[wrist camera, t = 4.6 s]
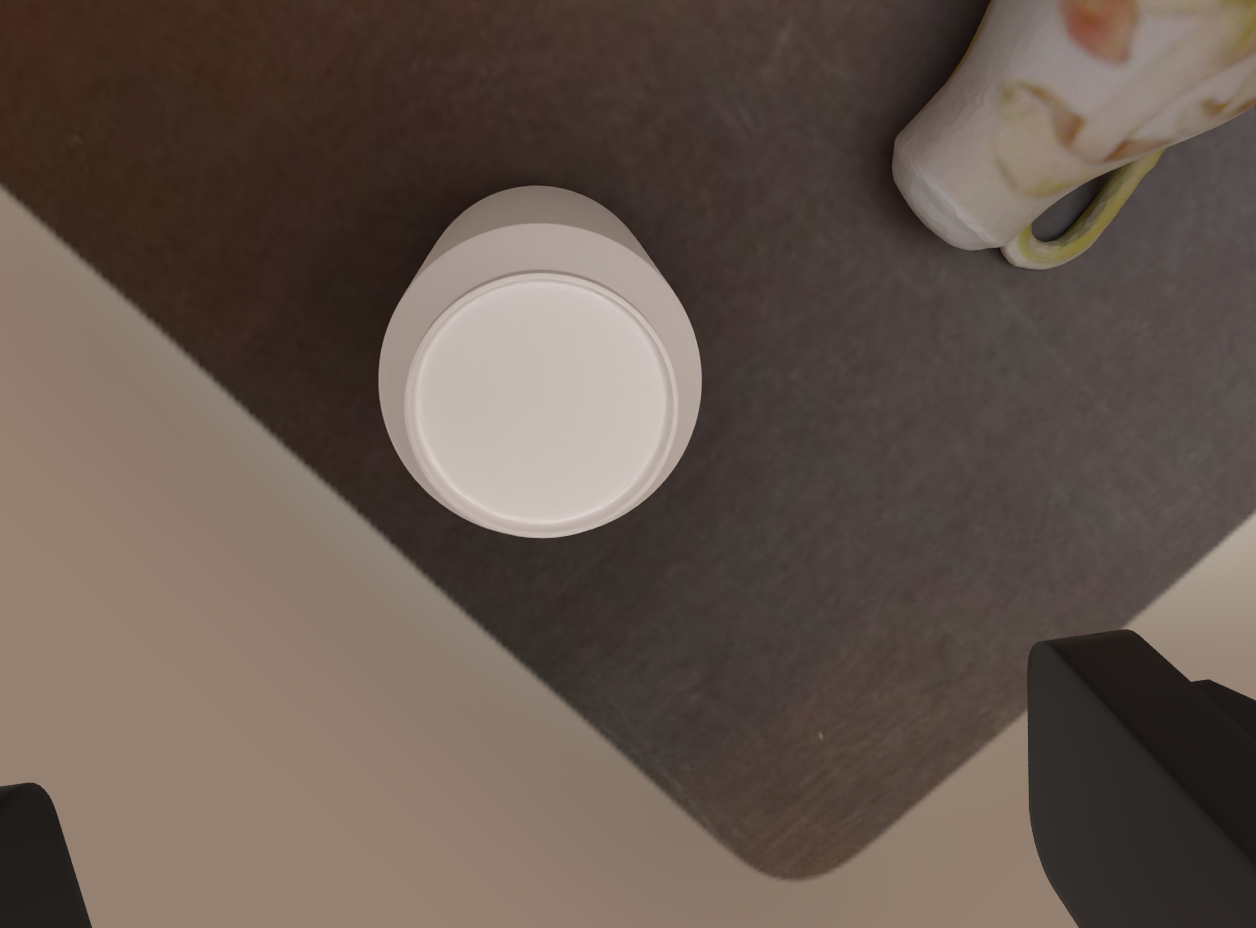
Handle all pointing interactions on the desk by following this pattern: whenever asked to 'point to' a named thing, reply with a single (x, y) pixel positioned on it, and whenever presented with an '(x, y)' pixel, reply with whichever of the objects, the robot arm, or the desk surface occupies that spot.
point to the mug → (1069, 114)
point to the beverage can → (539, 367)
